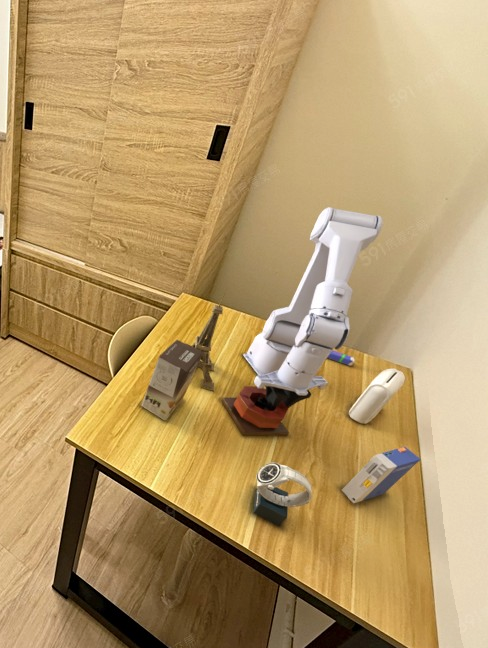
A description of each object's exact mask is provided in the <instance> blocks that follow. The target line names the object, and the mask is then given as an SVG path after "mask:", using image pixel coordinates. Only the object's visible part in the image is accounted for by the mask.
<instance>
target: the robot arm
mask: <svg viewBox="0 0 488 648" xmlns="http://www.w3.org/2000/svg"><path fill="white" fill-rule="evenodd" d="M383 225H384V220H383V218H382V216H381V215H377V214H376V215H373V214H367V213H361V212H355V211H350V210H344V209H338V208H334V207H331V206H328V207H326V208H323V210H322V211H321V212H320V214H319V215H318V218H317V219H316V222H315V223H314V226H313V228H312V230H311V232H310V235H309V236H310V238H309V241H311V242H312V243H314V244H315V247H314V252H313V254H312V256H311V258H310V260H309V262H308V265H307V267H306V269H305V271H304V273H303V275H302V278H301V280H300V282H299V284H298V286H297V289H296V290H295V293H294V295H293V297H292V299H291V301H290V303H289V305H288V306H286V307H281V308H276V309H274V310H273V311H272V312H271V313H270V316H269V317H268V318H267V320H265V323H264V326H263V328H262V332H260V333H258V334H257V335H256V336H255V337H254V339H253V341H252V342H251V345H250V347H249V348H248V350H247V352H246V353H243V354H242V355H243V357H244V358H245V360H246V361H247V362H248V364H249V365H250V367H252V369H253V371H254V372H256V374H257V375H256V376H255V378H254V380H253V383H254V385H255V386H257V387H258V388H265V389H266V398H265V399H266V400H267V401H268V404H267V405H266V407H267V409H268V410H269V411H273V410H274V409H275V408H276V407H277V405H278V404H279V403H280V402H281V401H283V402H284V404H285V405H286V406H287V407H288V409H290V408H291V407H293V406H294V405H296V404H297V403H299V402H301V401H303V400H306V399H310V398H311V396H312V393H311V391H310V390H313V389H316V388H318V389H320V390H325V388H326V387H327V386H328V384H329V382H328V381H327V380H326V379H325V377H323V376H321V375H317V374H318V372H319V370H320V369H321V367H322V366H323V365H324V363H325V362H326V360H327V359H328V358H327V357H328V356H329V354H330V353H331V351H332V350H333V351H334V350H336V351H338V350H340V349H342V347H343V346H344V344H345V343H346V341H347V339H348V337H349V334H350V330H351V329H350V328H351V325H350V317H348V316H347V315H348V312H349V309H350V304H351V301H352V297H353V293H354V290H353V288H352V287H351V286H350V285H349V284H348V283H349V280H350V278H351V275H352V272H353V270H354V267H355V265H356V262H357V260H358V257H359V255H360V253H361V251H364V250H366V249H367V248H369V245H371V244H372V243H374V241H376V240H377V238H378V237H379V235H380V234H381V231H382V228H383Z"/></svg>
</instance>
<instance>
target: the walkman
mask: <svg viewBox="0 0 488 648" xmlns="http://www.w3.org/2000/svg"><path fill="white" fill-rule="evenodd" d="M420 461H421V458H420V457H419V456H418V455H416V454H415V453H414V452H413V451H411V450H410V449H409V448H407V446H401V447H398V448H395V449H392V450H388V451H384V452H381V453H377V454H374V455H373V456H372V457H371V458H370V460H368V461H367V463H366V464H365V465H364V466H363V467H362V468H361V469H360V470H358V472H356V474H355V475H354V476H353V477H352V478H351V479H350V480H349V481H348V483H347V484H346V485H345V486H344V487H343V488H342V489H341V492H343V494H345V496H346V497H347V498H348V499H349V501H350V502H351V503H353V504H357V503H361V502H362V501H367V500H369V499H372V498H375V497H379V496H381V495H384V494H386V493H387V492H388V491H389V490H390V489H391V488H393V486H394V485H395V484H396V483H397V482H398V481H400V480H401V479H402V478H403V477H404V476H405V475H406V474H407V473H408V472H409V471H410V470H411V469H412V468H413V467H415V466H416V465H417V464H418V463H419V462H420Z"/></svg>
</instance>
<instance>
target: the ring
mask: <svg viewBox="0 0 488 648" xmlns="http://www.w3.org/2000/svg"><path fill="white" fill-rule="evenodd" d="M259 397H263V398H266V388H265V387H263V388H258V387H257V386H256V385H255V386H254V385H244V386H243V387H242V389H241V391H240V393H238V395H237V397H236V398H237V399H236V401H235V402H234V406H235V407H236V409H237V411H238V412H239V414H240V415H241V417H242V418H244V419H245V420H247V421H249V422H251V423H253V424H254V425H256V426H258V427H260V428H278V426H279V425H280V423H281V422H282V423H283V420H284V419H285V417H286V414H287V413H288V410H289V408H288V407H287V406H286V405H285V404H284V402H283V401H281V402H280V403H279V404H278V405H277V407H276V408H275V409H274V410H273V411H269V410H268V409H267V407H265V408H266V409H267V410H268V411H265V410H263V409H261V408H259V407H257V406H255V405H254V404H253V402H256V401H257V399H258V398H259Z"/></svg>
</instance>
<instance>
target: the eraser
mask: <svg viewBox="0 0 488 648" xmlns="http://www.w3.org/2000/svg"><path fill="white" fill-rule="evenodd" d="M326 359H329V360H332V361H335V362H338V363H340V364H344V365H346V366H349V367H351V366H353V365H354V363H355V362H356V361H355V357H353V356H351V355H347V354H345V353H341V352H339V351H337V350H336V351H335V350H334V349H333V350H332V351H331V353H330V354H329V356H328V357H327V358H326Z"/></svg>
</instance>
